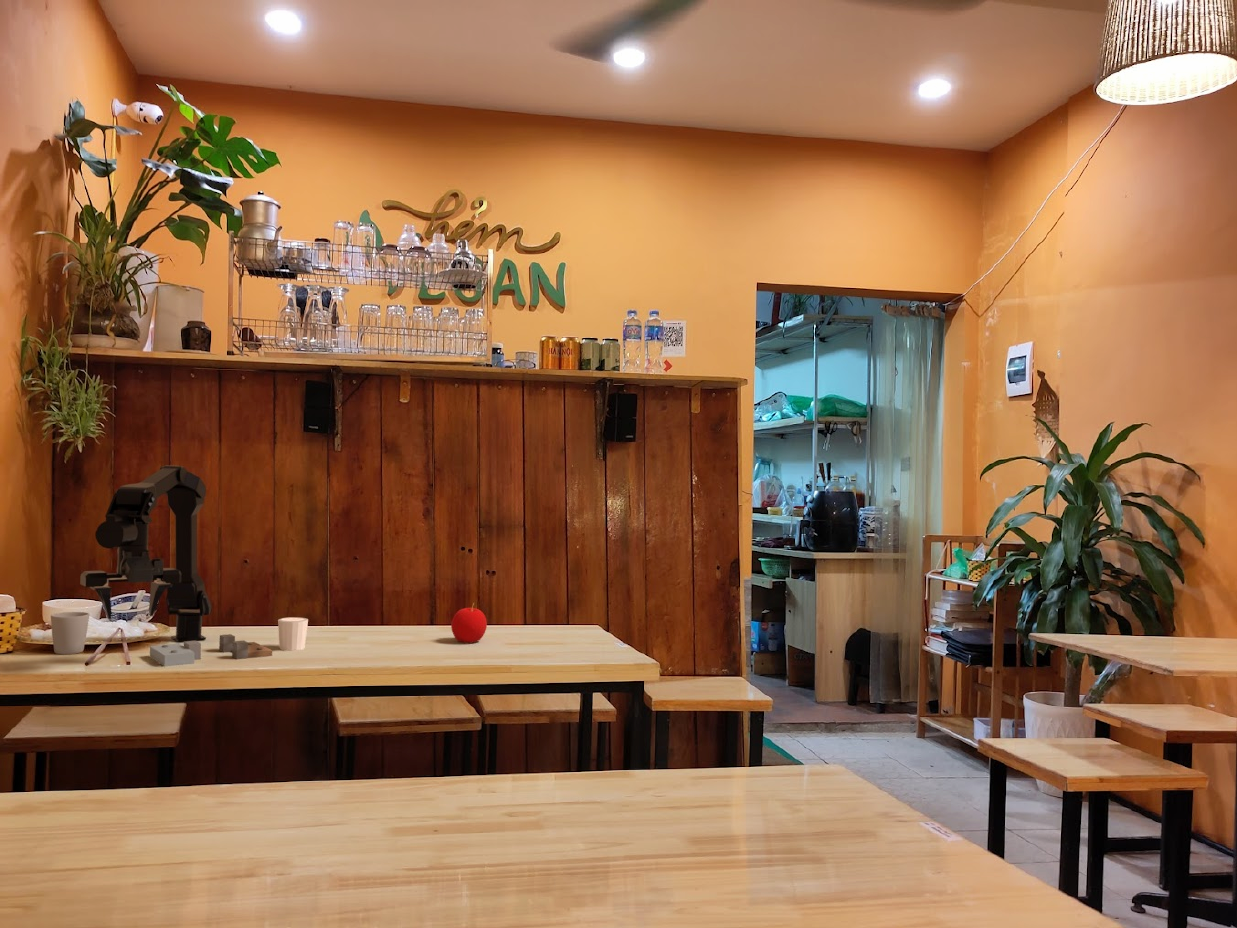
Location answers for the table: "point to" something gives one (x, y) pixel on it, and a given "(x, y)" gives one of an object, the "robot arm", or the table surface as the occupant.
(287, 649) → the pale pink tumbler
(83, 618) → the cup
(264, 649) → the leaf
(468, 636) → the fruit
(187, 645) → the leaf
